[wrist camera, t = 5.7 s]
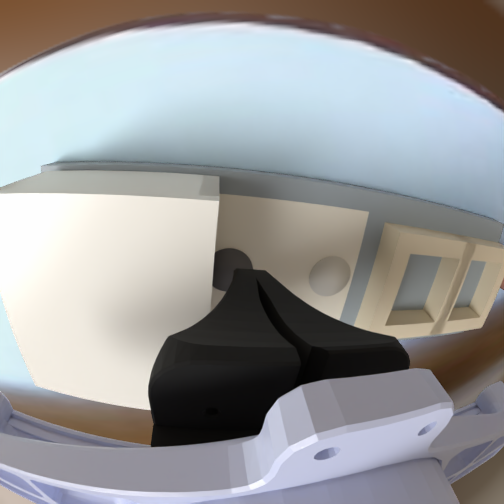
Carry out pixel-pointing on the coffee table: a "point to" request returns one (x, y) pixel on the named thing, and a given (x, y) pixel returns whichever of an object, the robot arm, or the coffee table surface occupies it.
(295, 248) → the board
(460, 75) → the coffee table surface
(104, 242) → the block
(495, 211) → the coffee table surface
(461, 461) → the robot arm
